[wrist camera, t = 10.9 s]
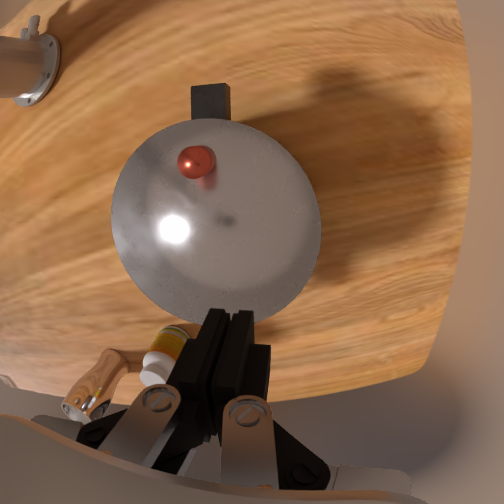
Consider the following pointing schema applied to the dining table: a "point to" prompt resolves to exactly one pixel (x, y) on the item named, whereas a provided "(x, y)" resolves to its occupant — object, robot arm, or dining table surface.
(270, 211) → the cooker lid
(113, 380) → the beer glass
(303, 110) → the dining table surface
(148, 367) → the supplement bottle
